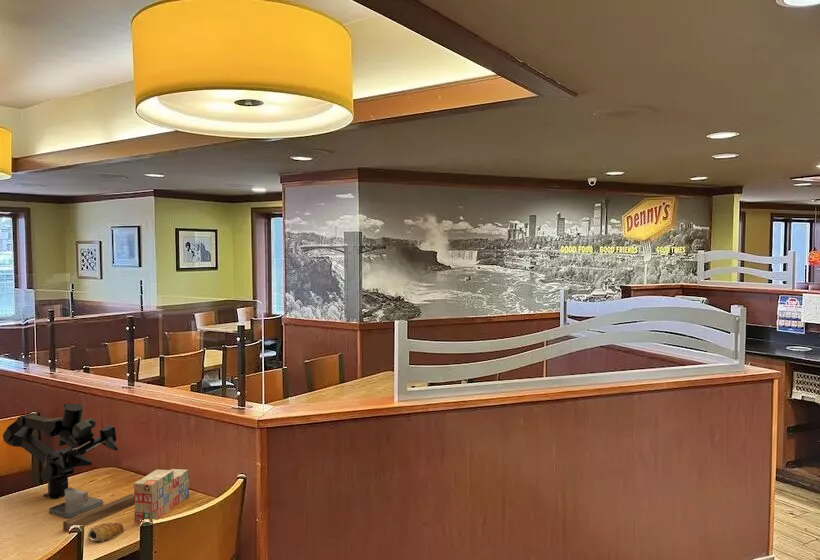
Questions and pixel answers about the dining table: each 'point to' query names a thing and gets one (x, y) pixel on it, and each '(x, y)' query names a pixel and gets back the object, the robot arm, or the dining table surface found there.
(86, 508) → the fulcrum stand
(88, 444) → the robot arm
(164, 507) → the stack of blocks
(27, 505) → the dining table surface
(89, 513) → the walnut rod
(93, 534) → the pastry
